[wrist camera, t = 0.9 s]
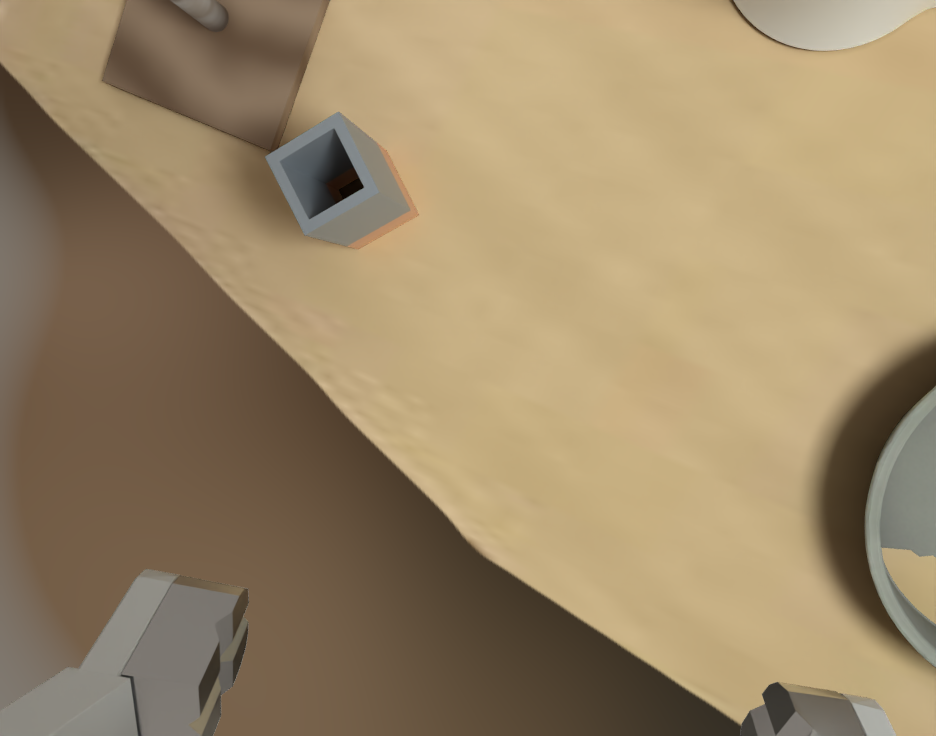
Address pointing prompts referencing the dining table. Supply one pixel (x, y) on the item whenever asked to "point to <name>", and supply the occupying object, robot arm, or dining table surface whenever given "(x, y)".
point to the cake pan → (905, 515)
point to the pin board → (218, 60)
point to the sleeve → (341, 184)
